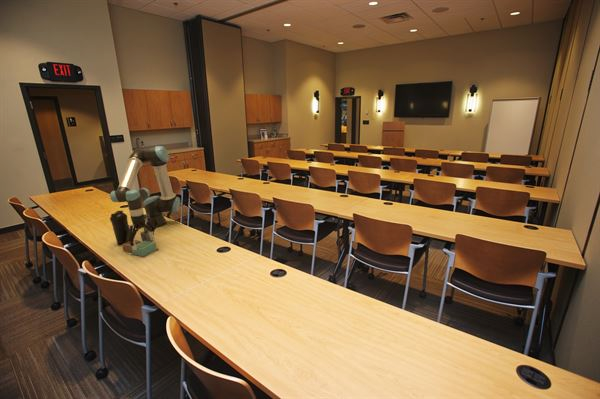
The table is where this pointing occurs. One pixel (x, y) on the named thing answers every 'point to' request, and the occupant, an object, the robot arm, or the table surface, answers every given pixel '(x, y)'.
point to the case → (128, 246)
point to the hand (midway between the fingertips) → (144, 245)
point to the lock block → (145, 236)
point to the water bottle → (120, 226)
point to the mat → (145, 255)
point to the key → (145, 223)
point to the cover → (144, 248)
